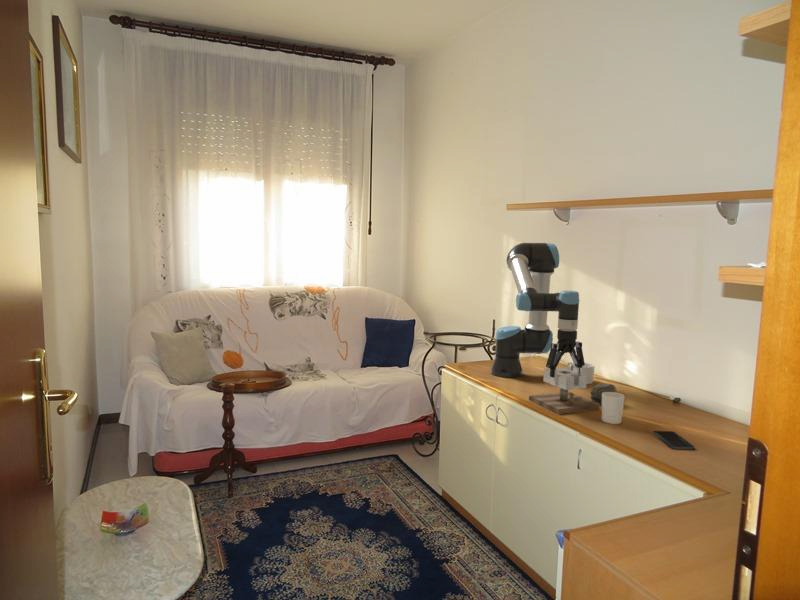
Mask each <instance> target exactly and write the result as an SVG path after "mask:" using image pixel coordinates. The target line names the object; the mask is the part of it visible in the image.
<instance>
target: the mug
mask: <svg viewBox="0 0 800 600" xmlns="http://www.w3.org/2000/svg"><path fill="white" fill-rule="evenodd" d="M574 366H575V365H574V362H573V361H569V362H568V363H567V365H566V367H567V368H566V369H569V370H572V371H573V367H574ZM575 367H576V366H575ZM594 372H595V365H594V364H592V363H589V362H585V365H584V366H582V368H580V373H581V374H584V375H587V383H586V385H591V384H592V383H594Z"/></svg>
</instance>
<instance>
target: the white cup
mask: <svg viewBox="0 0 800 600" xmlns="http://www.w3.org/2000/svg"><path fill="white" fill-rule="evenodd" d="M625 399H626V398H625V395H624V394H622V393H619V392H617V393H615V392H604V393H602V405H601V420H602V422H603V423H606V424H610V425H618V424H621V423H622V419H623V415H624V414H623V411H624V406H625V405H624V403H625Z"/></svg>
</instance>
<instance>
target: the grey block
mask: <svg viewBox="0 0 800 600" xmlns="http://www.w3.org/2000/svg"><path fill="white" fill-rule="evenodd" d="M556 370H557V386H556V387H557V388H559V389H560V388H562V389H564V390H568V391H569V390H575V388H576V389H579V390H580V389H587V384H586V383H587V375H584V374H581V373H578V372H575V371H572V370H569V369H568V368H566V367H556ZM542 382H544V383H547V384H549V385H551V377H550V368H546V369H545V368H544V369H543V381H542Z"/></svg>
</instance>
